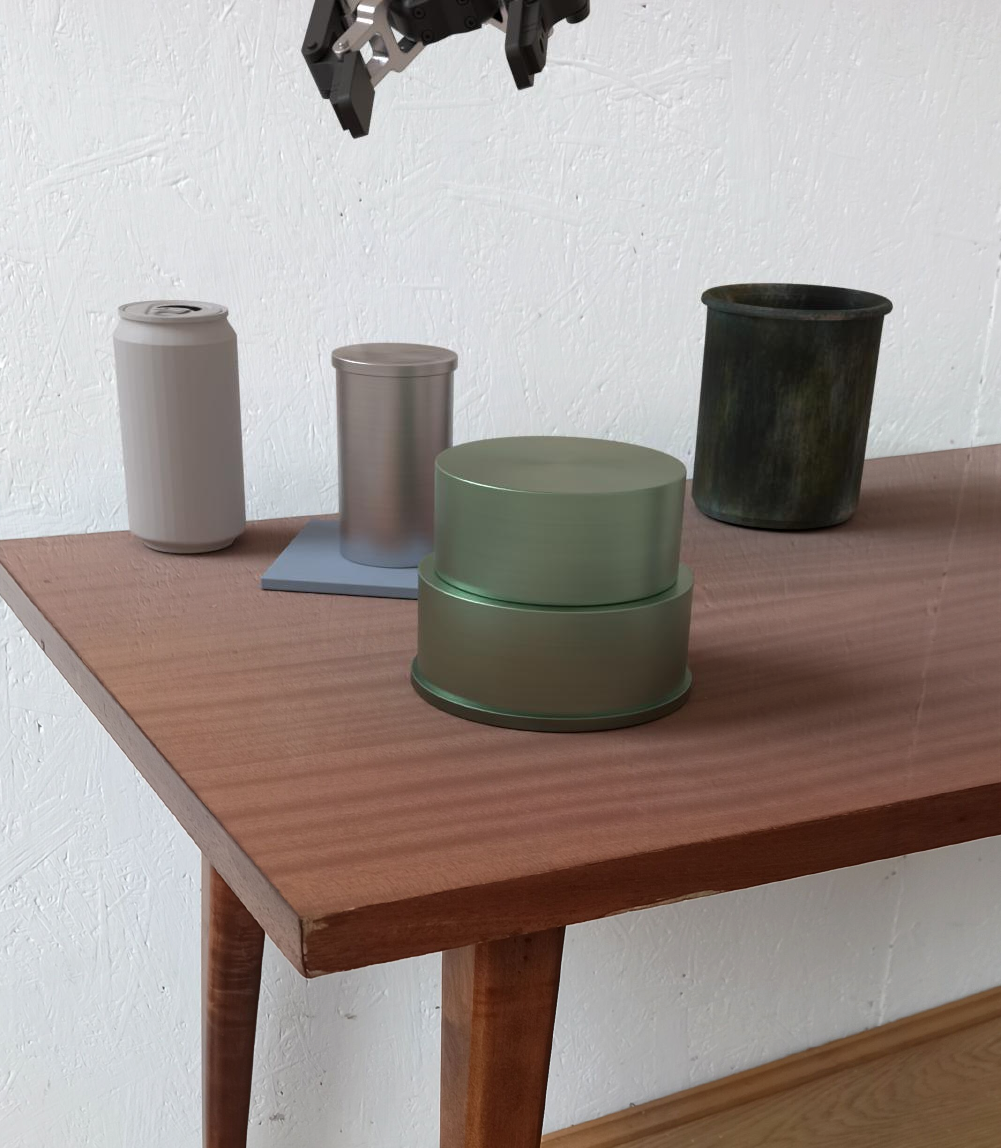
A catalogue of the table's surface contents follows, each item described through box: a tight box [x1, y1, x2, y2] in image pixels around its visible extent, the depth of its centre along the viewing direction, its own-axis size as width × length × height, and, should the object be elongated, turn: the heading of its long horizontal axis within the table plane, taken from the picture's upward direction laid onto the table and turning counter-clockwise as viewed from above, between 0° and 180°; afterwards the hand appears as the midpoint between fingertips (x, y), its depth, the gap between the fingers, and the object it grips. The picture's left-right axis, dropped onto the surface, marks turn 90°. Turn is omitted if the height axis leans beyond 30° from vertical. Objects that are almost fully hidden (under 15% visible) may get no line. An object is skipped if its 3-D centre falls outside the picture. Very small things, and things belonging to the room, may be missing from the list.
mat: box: [260, 518, 418, 600], centre depth 93 cm, size 12×12×1 cm
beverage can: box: [112, 299, 247, 554], centre depth 92 cm, size 6×6×12 cm
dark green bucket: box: [690, 282, 894, 530], centre depth 103 cm, size 11×15×12 cm
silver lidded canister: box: [330, 342, 459, 568], centre depth 90 cm, size 6×6×10 cm
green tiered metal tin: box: [410, 435, 695, 733], centre depth 75 cm, size 13×13×10 cm
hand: (434, 96), depth 82 cm, fingers open, 8 cm apart
